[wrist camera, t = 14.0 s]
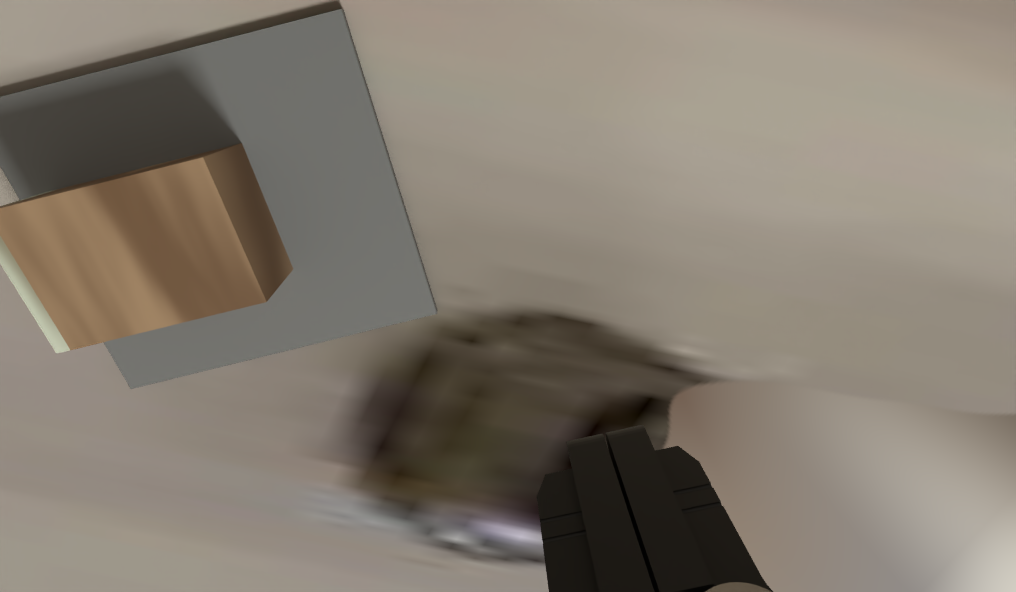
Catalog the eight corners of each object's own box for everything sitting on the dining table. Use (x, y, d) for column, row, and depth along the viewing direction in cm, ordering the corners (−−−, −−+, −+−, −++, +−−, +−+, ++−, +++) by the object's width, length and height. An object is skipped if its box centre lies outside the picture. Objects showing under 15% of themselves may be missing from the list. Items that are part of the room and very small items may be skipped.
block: (203, 157, 21) (-30, 215, 21) (266, 302, 23) (56, 353, 23) (241, 143, 25) (43, 193, 25) (293, 269, 27) (111, 313, 27)
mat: (343, 9, 23) (341, 8, 23) (437, 310, 29) (437, 313, 28) (-28, 105, 24) (-36, 105, 23) (135, 384, 29) (130, 389, 29)
